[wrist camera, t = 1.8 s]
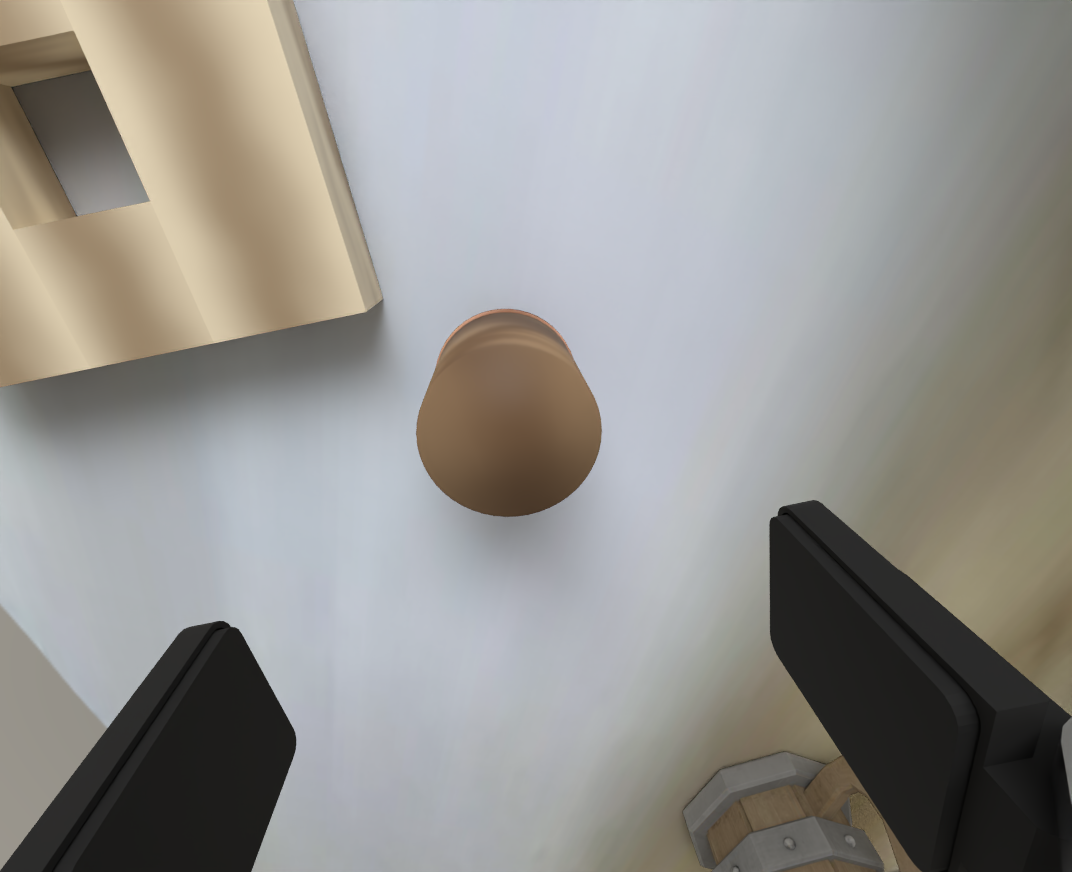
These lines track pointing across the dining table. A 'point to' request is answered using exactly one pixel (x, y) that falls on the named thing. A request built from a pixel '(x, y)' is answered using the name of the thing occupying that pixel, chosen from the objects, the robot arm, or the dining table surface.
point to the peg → (508, 416)
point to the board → (173, 187)
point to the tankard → (784, 819)
